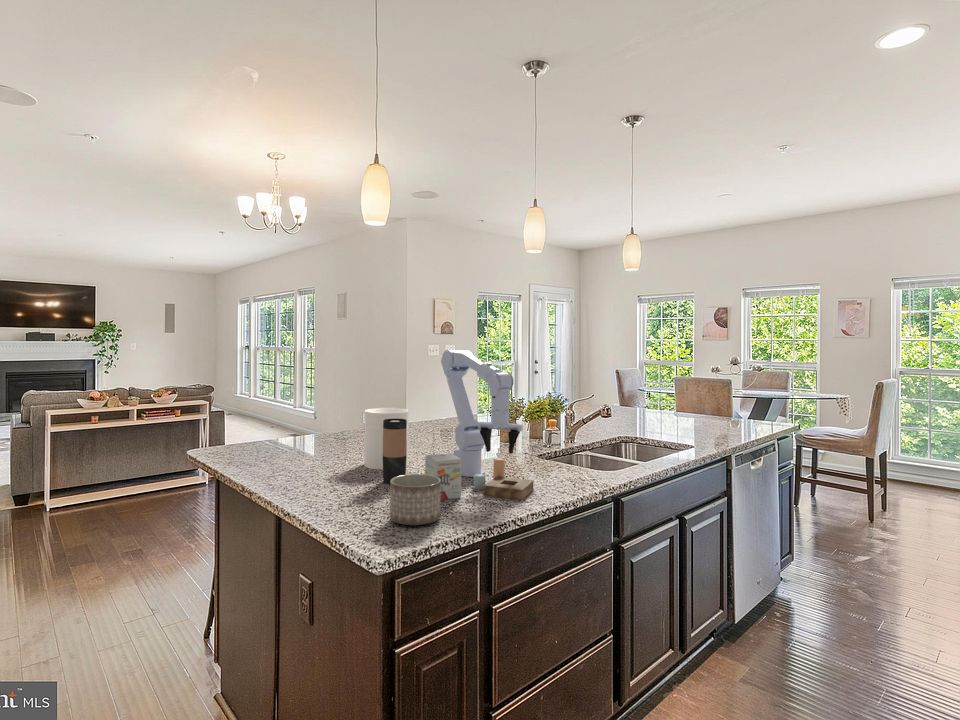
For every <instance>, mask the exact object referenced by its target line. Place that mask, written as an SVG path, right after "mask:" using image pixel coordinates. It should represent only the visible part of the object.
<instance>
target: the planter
mask: <svg viewBox="0 0 960 720" xmlns="http://www.w3.org/2000/svg"><path fill="white" fill-rule="evenodd" d="M389 486H390V487H389V489H390V490H389V491H390V492H389V518H390V520H391V521H392V522H394V523H396V524H400V525H406V526H419V525H420V526H421V525H427V524H431V523H434V522H436V521H439V519H440V518H441V500H440V495H441V480H440V478H438V477H436V476H432V475H425V473H421V474H420V473H417V474H416V473H412V474H411V473H410V474H406V475H401V476H397V477H394V478H392V479H391V480H390V484H389Z"/></svg>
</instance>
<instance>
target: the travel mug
mask: <svg viewBox="0 0 960 720" xmlns="http://www.w3.org/2000/svg"><path fill="white" fill-rule="evenodd" d="M406 455H407V421H406V420H405V419H385V420H383V470H382V481H383V484H385V485H386V484H387V485H390V480H391V479H392V478H394V477H397V476H401V475H407V474H406V473H407V466H406Z"/></svg>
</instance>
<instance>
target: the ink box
mask: <svg viewBox="0 0 960 720" xmlns="http://www.w3.org/2000/svg"><path fill="white" fill-rule="evenodd" d="M424 458H425V459H424V460H425V463H424V466H425V467H424V474H425V475H432V476H436V477H438V478H440V480H441V495H440V501H444V500H452V499H459V498H462V476H461V474H462V459H461V458H459V457H457V456H455V455H453V453H451V452H450V453H437V454H435V453H434V454H425V457H424Z"/></svg>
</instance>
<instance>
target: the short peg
mask: <svg viewBox="0 0 960 720" xmlns="http://www.w3.org/2000/svg"><path fill="white" fill-rule="evenodd" d="M485 484H486V474H476V475H474V477H473V489H474V490H476V491H477V490H479V491H481V490H483V491H484V485H485Z"/></svg>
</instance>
